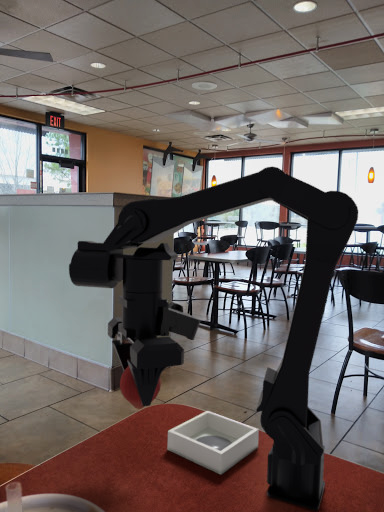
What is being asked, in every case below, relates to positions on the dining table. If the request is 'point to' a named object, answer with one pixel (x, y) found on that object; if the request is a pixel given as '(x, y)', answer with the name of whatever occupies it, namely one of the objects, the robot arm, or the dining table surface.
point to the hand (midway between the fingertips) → (140, 397)
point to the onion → (133, 389)
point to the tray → (213, 441)
